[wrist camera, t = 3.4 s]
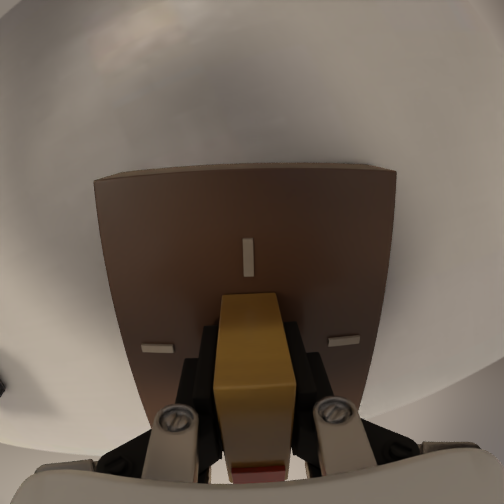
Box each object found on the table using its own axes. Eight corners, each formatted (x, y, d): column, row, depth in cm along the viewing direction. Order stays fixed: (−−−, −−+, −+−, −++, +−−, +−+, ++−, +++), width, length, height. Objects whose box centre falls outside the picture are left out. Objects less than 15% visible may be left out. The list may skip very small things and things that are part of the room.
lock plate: (121, 171, 13) (90, 181, 10) (367, 164, 13) (399, 171, 10) (164, 406, 18) (155, 443, 15) (339, 398, 18) (352, 435, 15)
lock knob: (221, 293, 12) (211, 395, 7) (275, 291, 12) (298, 390, 7) (230, 390, 13) (229, 488, 8) (275, 388, 13) (288, 485, 8)
